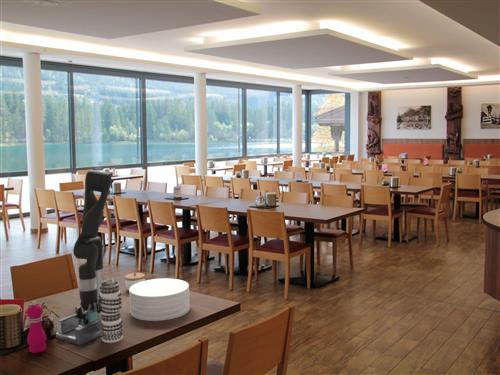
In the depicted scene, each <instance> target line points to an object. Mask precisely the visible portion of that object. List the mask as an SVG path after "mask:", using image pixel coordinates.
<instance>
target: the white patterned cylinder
mask: <svg viewBox="0 0 500 375" xmlns="http://www.w3.org/2000/svg"><path fill="white" fill-rule="evenodd" d="M99 286H100V294H99V296H98V297H99V302H100V304H99V305H100V311H101V312H100V313H99V314H101V322H100V330H101V341H102V342H103V343H109V344H111V343H118V342H120V341H122V340H123V338H124V336H123V328H122V327H123V322H122V317H121V312H122V307H123V306H121V304H122V297H121V296H122V292H121V291H120V282H119V281H118V280H117V279H116V278H115V279H114V278H107V279H104V281H102V283H101V284H100V285H99Z"/></svg>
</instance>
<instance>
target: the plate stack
mask: <svg viewBox="0 0 500 375" xmlns="http://www.w3.org/2000/svg"><path fill="white" fill-rule="evenodd" d="M128 291H129V292H128V293H129V294H128V295H129V311H130V315H131V316H132V317H133V318H135V319H137V320H141V321H149V322H150V321H155V322H156V321H158V322H159V321H165V320H166V321H167V320H172V319H176V318H180V317H182V316H184V315H186V314H187V313H188V312H189V311H190V309H191V307H190V284H189V283H188V282H187V281H185V280H182V279H178V278H163V277H162V278H152V279H147V280H146V279H145V281H142V282H139V283H136V284H134V285H132V286H131V287H130V288H129V289H128Z"/></svg>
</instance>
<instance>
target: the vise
mask: <svg viewBox="0 0 500 375" xmlns="http://www.w3.org/2000/svg"><path fill="white" fill-rule="evenodd" d="M101 332H102V329H101V320H99V319H98V320H95V321H92V322H90V323H87V324H85V325H83V326H82V325H81V324H79V327H78V328H75V329H73V330H70V331H68V332H65V333H63V334H61V333H58V331H57V332H55V338H56V339H59V340H62V341H66V342H67V343H72V344H75V345H78V346H81V345H83V344H86V343H89V342H91V341H93V340H95V339H97V338H99V337H102V333H101Z"/></svg>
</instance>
